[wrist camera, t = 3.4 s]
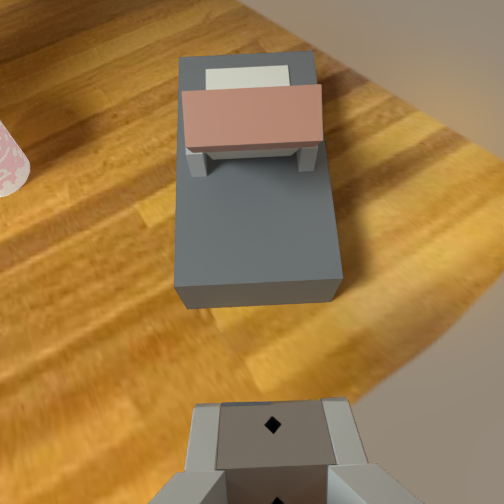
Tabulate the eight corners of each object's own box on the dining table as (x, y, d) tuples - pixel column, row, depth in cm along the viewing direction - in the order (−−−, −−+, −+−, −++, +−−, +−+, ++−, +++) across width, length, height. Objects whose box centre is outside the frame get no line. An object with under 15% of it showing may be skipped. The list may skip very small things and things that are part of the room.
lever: (210, 166, 29) (185, 147, 18) (208, 132, 29) (181, 91, 18) (294, 161, 29) (323, 140, 18) (292, 127, 29) (321, 84, 18)
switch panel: (187, 309, 30) (165, 272, 24) (189, 103, 37) (172, 28, 30) (330, 301, 30) (351, 263, 24) (306, 98, 37) (316, 21, 30)
